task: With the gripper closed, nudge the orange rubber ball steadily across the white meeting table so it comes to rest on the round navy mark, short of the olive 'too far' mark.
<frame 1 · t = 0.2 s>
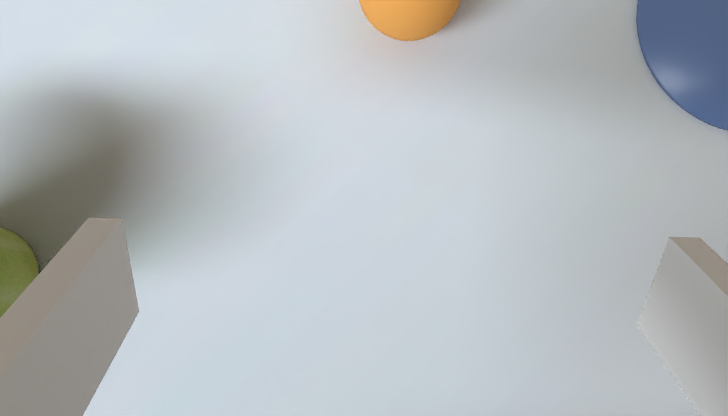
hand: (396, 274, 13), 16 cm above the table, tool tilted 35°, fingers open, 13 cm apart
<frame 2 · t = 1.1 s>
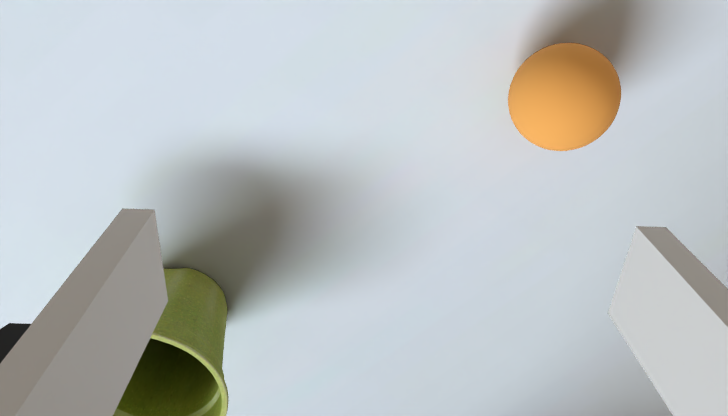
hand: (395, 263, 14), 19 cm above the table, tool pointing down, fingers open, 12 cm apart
plant pot: (184, 299, 38), on the table
ball: (562, 97, 28), on the table
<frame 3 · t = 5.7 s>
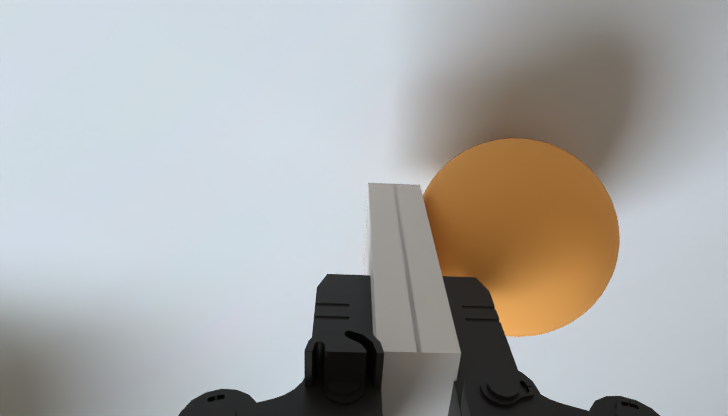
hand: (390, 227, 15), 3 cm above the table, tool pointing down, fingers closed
ball: (511, 236, 15), on the table, touching gripper
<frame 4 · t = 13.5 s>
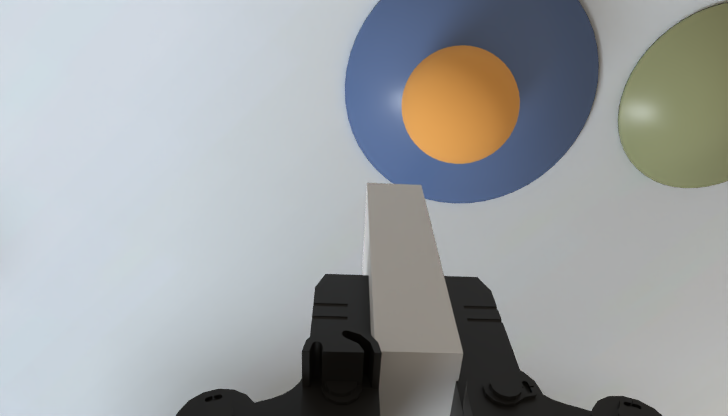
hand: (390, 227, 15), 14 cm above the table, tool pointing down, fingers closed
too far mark: (714, 101, 29), on the table
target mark: (470, 90, 28), on the table
ball: (459, 105, 26), on the table
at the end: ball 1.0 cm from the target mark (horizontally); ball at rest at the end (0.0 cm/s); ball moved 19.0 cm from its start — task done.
